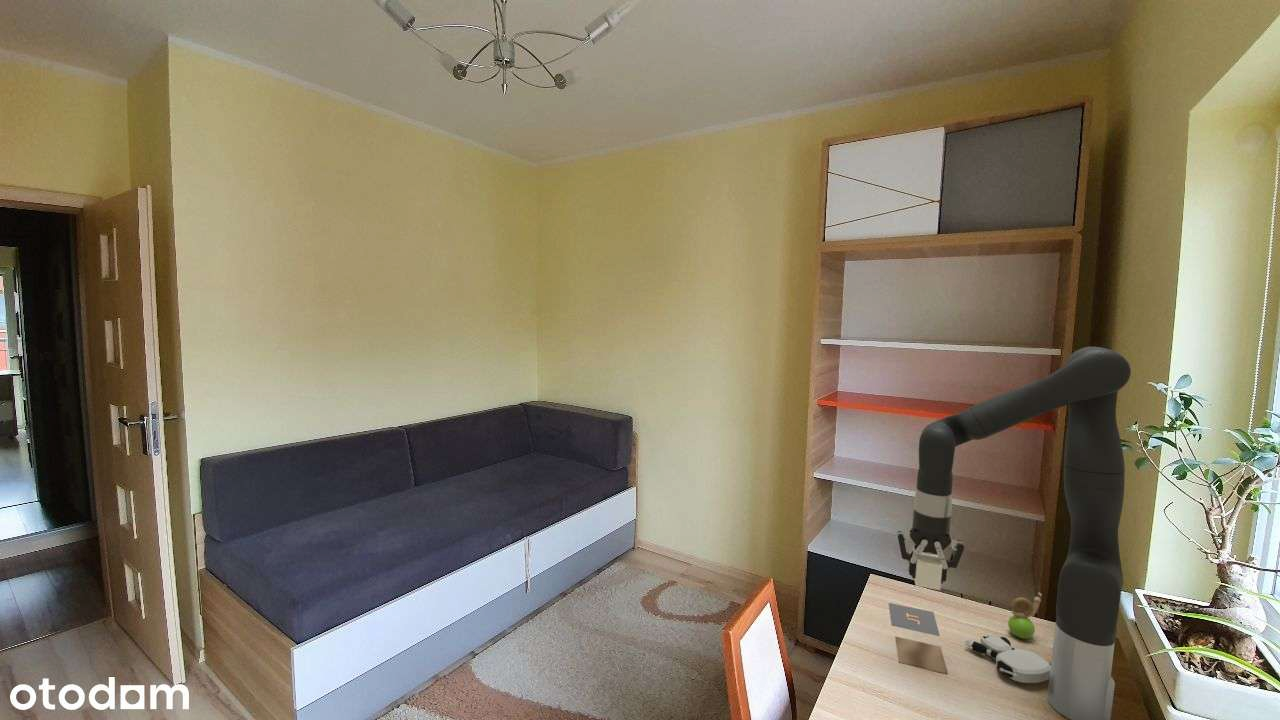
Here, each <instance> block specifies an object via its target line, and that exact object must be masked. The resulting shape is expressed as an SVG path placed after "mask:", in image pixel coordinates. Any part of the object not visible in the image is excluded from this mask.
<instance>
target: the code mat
mask: <svg viewBox="0 0 1280 720" xmlns="http://www.w3.org/2000/svg"><path fill="white" fill-rule="evenodd" d="M888 609H889V615H890V624H891V626H892V627H897V628H901V629H906V630H910V631H914V632H919V633H924V634H929V635H933V636H937V637H940V636H941V635H940V632H939V627H938V624H937V620H936V617H935V613H934V611H930V610H925V609H920V608H915V607H911V606H905V605H900V604H896V603H890V602H888Z"/></svg>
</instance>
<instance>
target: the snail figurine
mask: <svg viewBox="0 0 1280 720" xmlns="http://www.w3.org/2000/svg"><path fill="white" fill-rule="evenodd" d="M1037 594H1038V596H1035V597H1034V599H1033V603H1032V602H1031V600H1030V599H1028V598H1026V597H1021V596H1020V597H1016V598H1014V599H1013V600H1012V602H1011V608H1012V609H1013V610H1012V611H1011V613H1012V615H1011V616H1010V617H1009V618H1008V620H1007V621H1008V622H1007V625H1008V629H1009V630H1010V632H1011V634H1013V635H1014V636H1015V637H1017V638H1019V639H1023V640H1024V639H1025V640H1026V639H1030V638H1032V637H1033V636H1034V635H1035V632H1036V627H1035V625H1034V623H1033V621H1032V620H1031V619H1030V618H1031V617H1033V616H1035V614H1036V613H1037V612H1038V609H1039V607H1040V603H1042V602H1041V601H1042V599H1041V598H1042V596H1043V595H1042V593H1041V592H1038V593H1037Z"/></svg>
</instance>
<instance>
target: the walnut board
mask: <svg viewBox="0 0 1280 720" xmlns="http://www.w3.org/2000/svg"><path fill="white" fill-rule="evenodd" d="M894 637H895V644H896V645H895V646H896V651H897V653H896V654H897V659H898V664H902V665H906V666H910V667H913V668H917V669H922V670H926V671H931V672H935V673H939V674H943V675H945V676H946V675H947V676H948V675H949V672H948V669H947V666H946V662H945V661H946V660H945V659H944V654H943V650H942V647H941V645H935V644H931V643H927V642H921V641H918V640H914V639H910V638H904V637H902V636H901V637H899V636H897V635H895V636H894Z"/></svg>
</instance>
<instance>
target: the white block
mask: <svg viewBox="0 0 1280 720" xmlns="http://www.w3.org/2000/svg"><path fill="white" fill-rule="evenodd" d="M941 576H942V563H940V560H939V557H938V554H932V553H928V552H926V553H925V552H922V553H921V555H920V556H919V557H918V559H917V561H916V576H915V579H914V578H913V579H914V584H915V587H921V588H922V587H923V588H925V589H931V590H937V591H941V587H942V584H941Z"/></svg>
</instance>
